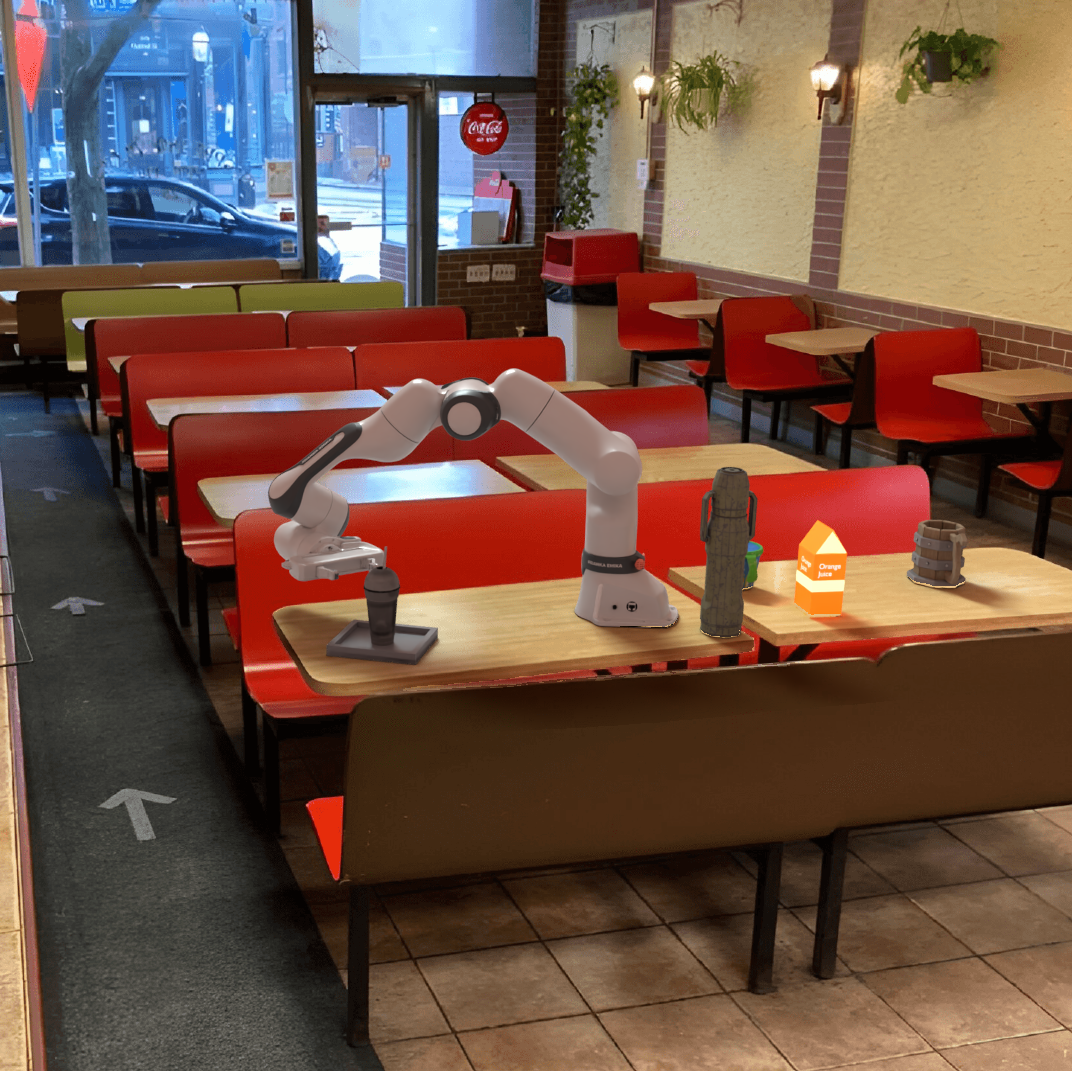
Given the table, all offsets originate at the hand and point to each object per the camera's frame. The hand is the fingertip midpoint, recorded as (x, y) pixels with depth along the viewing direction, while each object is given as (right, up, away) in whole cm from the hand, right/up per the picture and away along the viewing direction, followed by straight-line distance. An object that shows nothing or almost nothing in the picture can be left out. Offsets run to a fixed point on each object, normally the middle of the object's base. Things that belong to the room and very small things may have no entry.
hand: (356, 572), depth 270 cm
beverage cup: (+6, -14, -4) cm, 16 cm away
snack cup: (+84, -5, +42) cm, 94 cm away
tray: (+6, -15, -4) cm, 16 cm away
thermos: (+75, -13, +11) cm, 77 cm away
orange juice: (+99, -9, +26) cm, 103 cm away
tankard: (+133, -5, +49) cm, 142 cm away
